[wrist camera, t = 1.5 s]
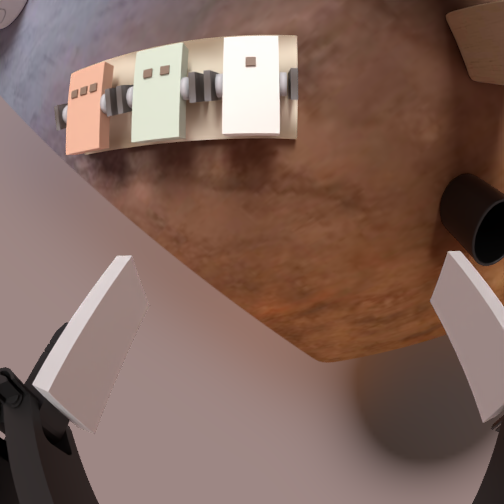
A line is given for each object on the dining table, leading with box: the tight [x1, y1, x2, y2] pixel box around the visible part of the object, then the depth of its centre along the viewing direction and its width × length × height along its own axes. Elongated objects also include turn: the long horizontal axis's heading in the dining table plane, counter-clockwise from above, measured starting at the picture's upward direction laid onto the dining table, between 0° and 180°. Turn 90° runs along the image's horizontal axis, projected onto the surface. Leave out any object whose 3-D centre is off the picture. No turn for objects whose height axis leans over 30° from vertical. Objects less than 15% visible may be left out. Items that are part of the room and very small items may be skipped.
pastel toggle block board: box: [54, 35, 298, 155], centre depth 24 cm, size 12×27×6 cm, turn 91°
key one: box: [215, 36, 287, 136], centre depth 22 cm, size 10×6×2 cm, turn 1°
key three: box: [62, 61, 114, 155], centre depth 23 cm, size 10×6×2 cm, turn 1°
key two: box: [126, 42, 189, 143], centre depth 22 cm, size 10×6×2 cm, turn 1°
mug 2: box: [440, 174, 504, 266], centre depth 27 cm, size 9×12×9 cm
